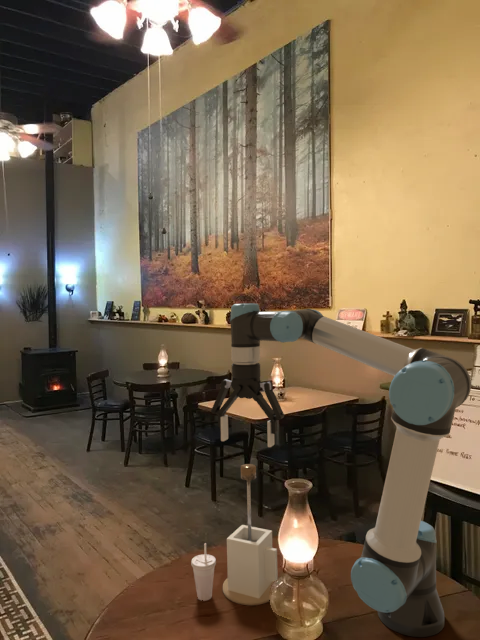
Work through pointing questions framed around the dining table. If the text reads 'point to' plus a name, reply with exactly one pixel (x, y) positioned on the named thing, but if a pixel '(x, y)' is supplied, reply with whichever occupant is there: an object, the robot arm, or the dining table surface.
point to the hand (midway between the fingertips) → (247, 442)
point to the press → (250, 566)
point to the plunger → (248, 491)
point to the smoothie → (203, 574)
